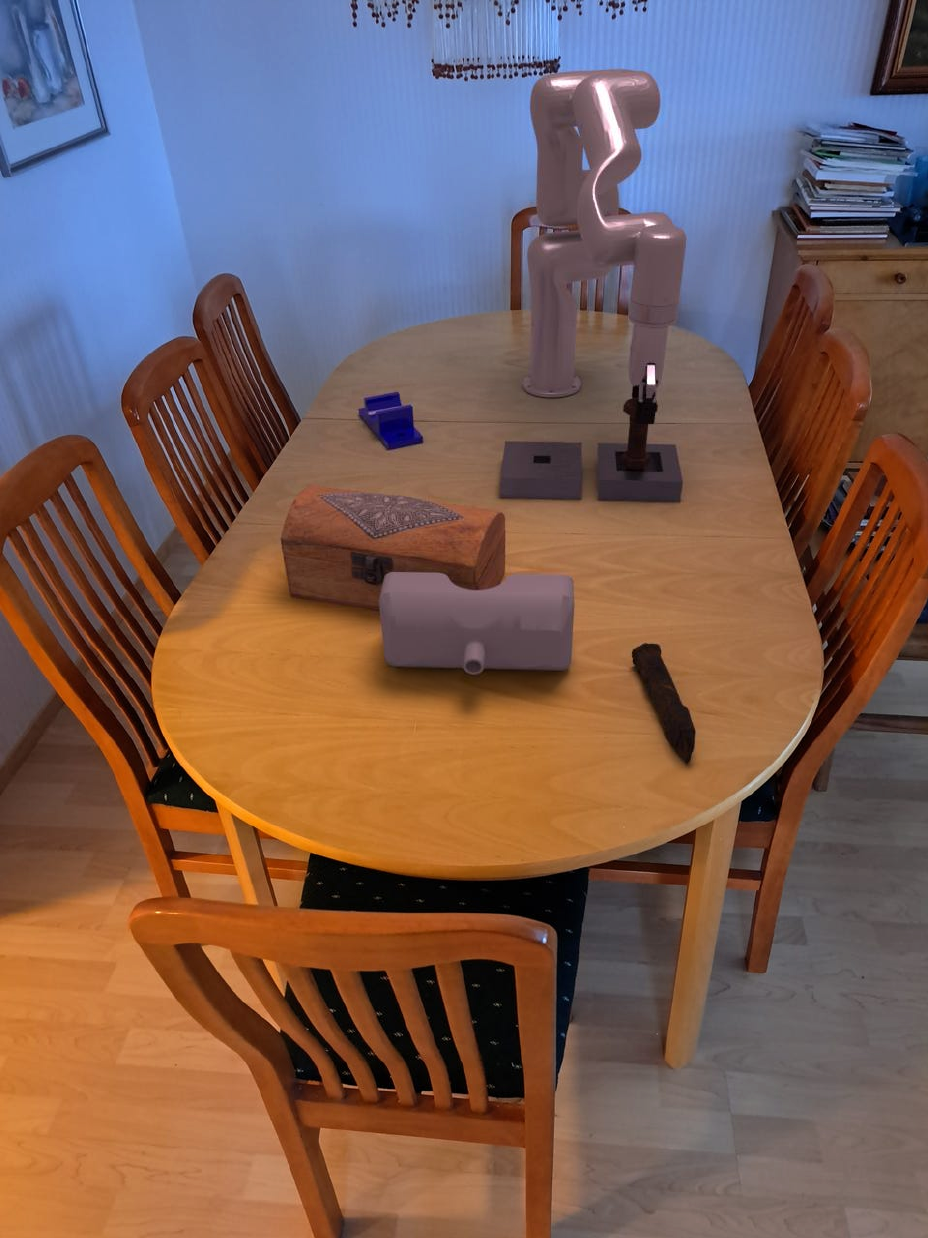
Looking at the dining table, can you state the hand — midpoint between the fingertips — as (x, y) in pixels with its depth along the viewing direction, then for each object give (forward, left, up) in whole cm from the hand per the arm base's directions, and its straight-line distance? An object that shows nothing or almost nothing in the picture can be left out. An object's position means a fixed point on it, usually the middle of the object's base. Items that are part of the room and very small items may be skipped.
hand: (642, 410), depth 153 cm
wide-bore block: (0, 0, -13) cm, 13 cm away
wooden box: (+35, -38, -14) cm, 53 cm away
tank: (+52, -24, -14) cm, 59 cm away
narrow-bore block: (0, -17, -13) cm, 21 cm away
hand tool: (+60, +1, -14) cm, 62 cm away
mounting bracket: (-19, -48, -14) cm, 54 cm away
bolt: (+1, 0, -14) cm, 14 cm away
